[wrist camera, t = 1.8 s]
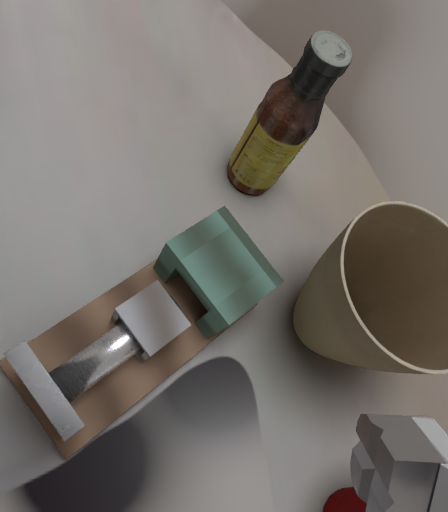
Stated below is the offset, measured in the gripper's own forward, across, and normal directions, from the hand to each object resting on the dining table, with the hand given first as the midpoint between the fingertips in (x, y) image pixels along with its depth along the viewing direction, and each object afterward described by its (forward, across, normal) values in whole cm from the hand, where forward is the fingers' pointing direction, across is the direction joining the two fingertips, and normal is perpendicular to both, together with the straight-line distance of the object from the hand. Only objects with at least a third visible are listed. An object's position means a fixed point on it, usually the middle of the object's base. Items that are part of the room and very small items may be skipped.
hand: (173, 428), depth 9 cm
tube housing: (+32, +5, +12) cm, 34 cm away
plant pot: (+38, -15, +12) cm, 42 cm away
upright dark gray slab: (+28, +7, +13) cm, 32 cm away
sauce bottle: (+46, -5, -4) cm, 47 cm away
